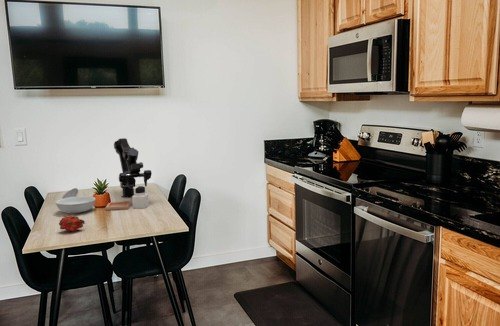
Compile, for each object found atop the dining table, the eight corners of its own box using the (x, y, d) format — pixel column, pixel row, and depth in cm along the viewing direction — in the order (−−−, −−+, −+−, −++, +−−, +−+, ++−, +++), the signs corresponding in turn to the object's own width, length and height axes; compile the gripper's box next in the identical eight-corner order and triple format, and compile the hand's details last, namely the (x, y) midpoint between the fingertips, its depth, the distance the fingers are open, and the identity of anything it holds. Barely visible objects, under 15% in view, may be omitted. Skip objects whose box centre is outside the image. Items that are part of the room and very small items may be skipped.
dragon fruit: (58, 234, 207) (84, 236, 209) (55, 228, 199) (82, 230, 202) (61, 218, 211) (87, 219, 213) (58, 211, 203) (85, 213, 206)
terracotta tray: (105, 210, 243) (105, 207, 243) (109, 205, 255) (109, 202, 255) (128, 209, 245) (127, 206, 245) (130, 204, 257) (130, 201, 257)
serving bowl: (80, 217, 231) (79, 205, 230) (48, 215, 237) (47, 203, 236) (103, 207, 251) (102, 196, 250) (74, 206, 257) (73, 195, 256)
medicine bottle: (148, 205, 254) (147, 185, 252) (144, 208, 246) (143, 188, 245) (137, 205, 254) (135, 185, 252) (132, 208, 247) (131, 188, 245)
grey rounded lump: (79, 209, 267) (79, 197, 262) (61, 209, 264) (61, 197, 258) (79, 198, 276) (80, 186, 271) (62, 198, 272) (62, 185, 267)
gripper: (118, 159, 249) (123, 181, 241) (149, 156, 258) (156, 177, 250) (116, 171, 257) (121, 192, 249) (147, 168, 266) (153, 188, 258)
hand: (138, 187), depth 251 cm, fingers open, 9 cm apart
